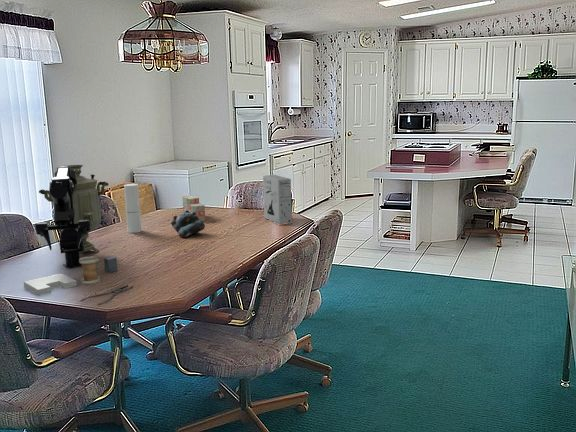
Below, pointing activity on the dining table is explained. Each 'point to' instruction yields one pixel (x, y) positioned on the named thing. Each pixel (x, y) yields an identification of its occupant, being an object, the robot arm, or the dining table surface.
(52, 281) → the notched board
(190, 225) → the dark grey lumpy cluster
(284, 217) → the cereal box
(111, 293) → the pliers
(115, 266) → the steel block
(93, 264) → the bobbin
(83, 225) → the robot arm
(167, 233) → the dining table surface
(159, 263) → the dining table surface
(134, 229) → the cylindrical container
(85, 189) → the samovar
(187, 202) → the stack of blocks
